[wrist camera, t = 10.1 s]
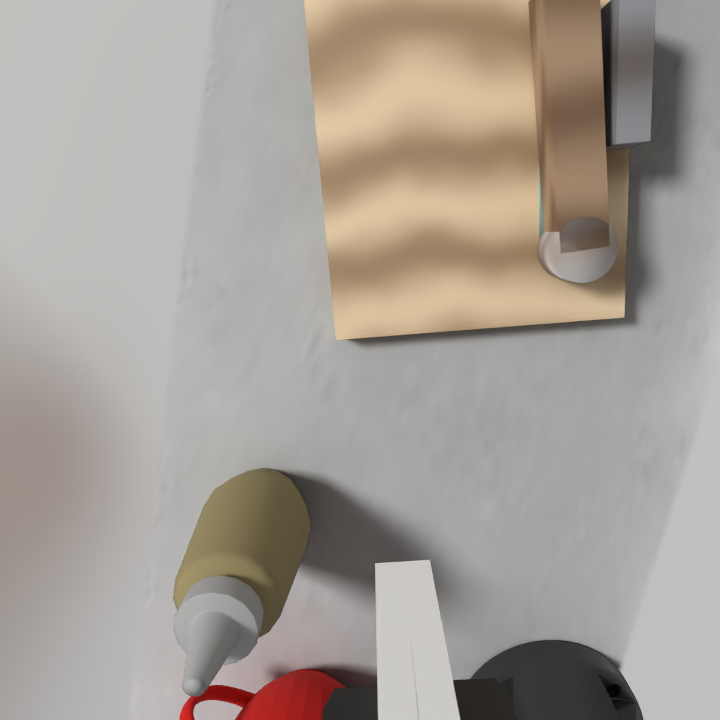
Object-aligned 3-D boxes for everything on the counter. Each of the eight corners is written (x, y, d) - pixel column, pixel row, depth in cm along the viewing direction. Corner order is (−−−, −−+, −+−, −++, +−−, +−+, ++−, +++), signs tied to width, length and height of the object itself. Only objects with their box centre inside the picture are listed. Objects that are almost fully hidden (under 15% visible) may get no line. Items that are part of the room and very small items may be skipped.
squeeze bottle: (289, 438, 42) (232, 588, 24) (331, 525, 43) (307, 724, 26) (197, 476, 42) (77, 646, 25) (242, 559, 44) (158, 774, 27)
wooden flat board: (611, 313, 39) (646, 324, 34) (337, 334, 40) (333, 349, 35) (620, -31, 34) (662, -76, 29) (306, 0, 35) (296, -38, 30)
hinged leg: (599, 274, 36) (619, 277, 33) (539, 282, 36) (554, 287, 33) (586, -8, 32) (608, -32, 29) (519, 3, 33) (535, -19, 30)
